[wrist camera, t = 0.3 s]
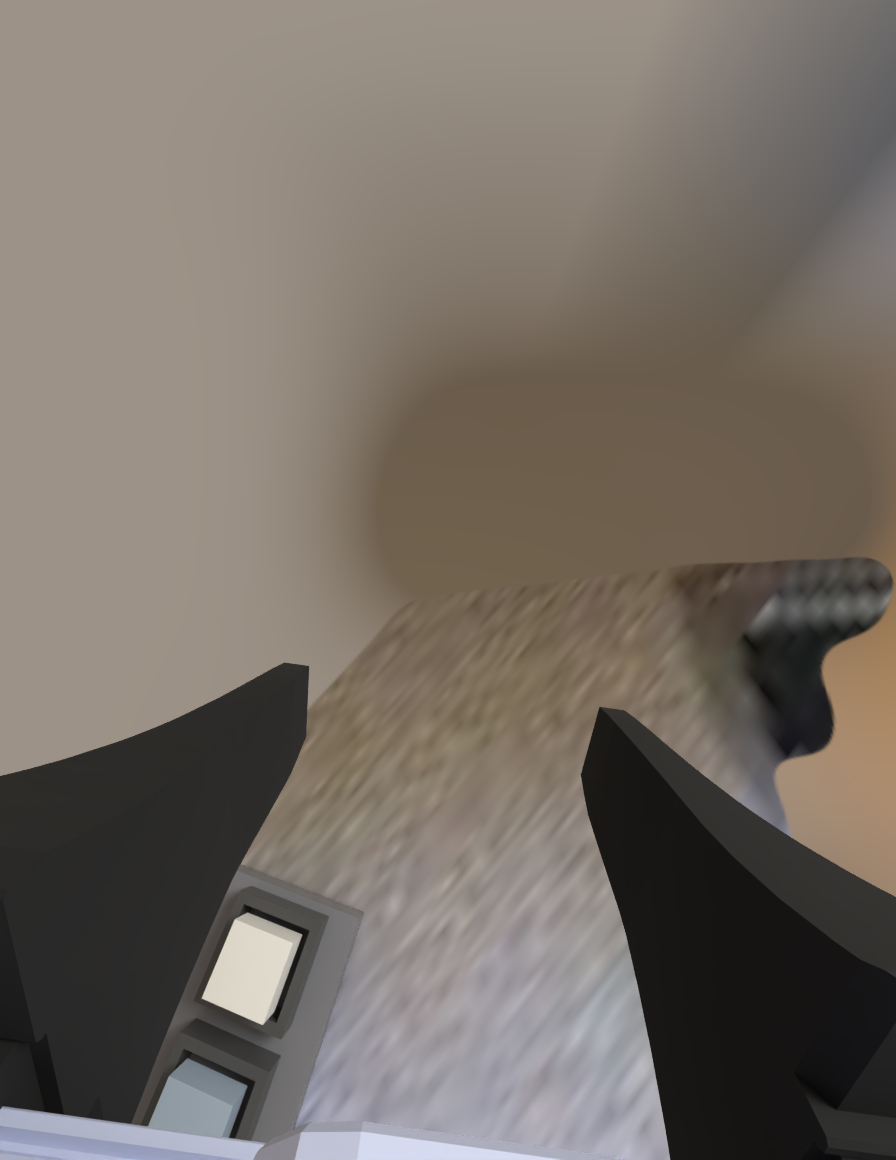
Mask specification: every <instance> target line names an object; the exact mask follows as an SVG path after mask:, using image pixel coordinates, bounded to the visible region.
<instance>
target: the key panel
mask: <svg viewBox="0 0 896 1160" xmlns="http://www.w3.org/2000/svg"><path fill="white" fill-rule="evenodd" d="M247 912H248V913H250V914H253V915H255V916H258V917H260V918H263V919H265V920H267V921H270V922H272V923H275V924H277V925H280V926H282V927H285V928H287V929H290V930H292V931H295V932H297V933H300V934H302V937H301V940H300V943H299V946H298V948H297V951H296V954H295V957H294V959H293V962H292V965H291V968H290V970H289V973H288V976H287V979H286V981H285V984H284V987H283V990H282V992H281V995H280V998H279V1001H278V1003H277V1006H276V1009H275V1011H274V1013H273V1014H272V1015H271V1016H270V1017H269V1018H268V1020H267V1021H266V1022H265V1023H264V1024H263V1025H261V1024H259V1023H256V1022H254V1021H252V1020H250V1019H247V1018H245V1017H243V1016H241V1015H238V1014H236V1013H234V1012H231V1011H229V1010H227V1009H225V1008H222V1007H220V1006H218V1005H215V1004H213V1003H211V1002H209V1001H206V1000H204V999H202V996H203V994H204V991H205V989H206V987H207V984H208V982H209V980H210V977H211V975H212V972H213V970H214V968H215V965H216V963H217V960H218V958H219V956H220V953H221V951H222V949H223V946H224V944H225V941H226V939H227V937H228V934H229V932H230V929H231V927H232V925H233V922H234V920H235V919H236V918H238V917H240V916H242V915H244V914H246V913H247ZM363 913H364V912H362V911H359V910H357V909H354V908H351V907H349V906H346V905H344V904H341V903H339V902H336V901H334V900H331V899H328V898H326V897H323V896H321V895H318V894H316V893H313V892H310V891H308V890H305V889H303V888H300V887H298V886H295V885H292V884H290V883H287V882H285V881H282V880H280V879H277V878H274V877H272V876H269V875H267V874H264V873H262V872H259V871H257V870H254V869H251V868H249V867H246V866H244V865H240V866H239V868H238V870H237V872H236V874H235V876H234V878H233V880H232V882H231V884H230V886H229V888H228V891H227V893H226V895H225V897H224V900H223V902H222V904H221V906H220V909H219V911H218V913H217V915H216V917H215V920H214V922H213V924H212V926H211V929H210V931H209V933H208V936H207V938H206V940H205V943H204V945H203V947H202V950H201V952H200V954H199V957H198V959H197V961H196V964H195V966H194V968H193V971H192V973H191V975H190V978H189V980H188V982H187V985H186V987H185V990H184V992H183V995H182V997H181V1000H180V1002H179V1004H178V1007H177V1009H176V1012H175V1014H174V1017H173V1019H172V1022H171V1024H170V1027H169V1029H168V1031H167V1034H166V1036H165V1039H164V1041H163V1044H162V1046H161V1049H160V1051H159V1054H158V1056H157V1059H156V1061H155V1064H154V1066H153V1069H152V1072H151V1074H150V1077H149V1079H148V1082H147V1084H146V1087H145V1090H144V1092H143V1095H142V1097H141V1100H140V1103H139V1105H138V1108H137V1110H136V1113H135V1115H134V1118H133V1121H132V1123H131V1124H133V1125H140V1126H147V1127H148V1125H149V1123H150V1120H151V1118H152V1116H153V1113H154V1111H155V1108H156V1106H157V1104H158V1101H159V1099H160V1096H161V1094H162V1092H163V1089H164V1087H165V1085H166V1082H167V1080H168V1077H169V1076H170V1075H171V1074H172V1073H173V1072H174V1071H175V1070H176V1069H177V1068H178V1067H179V1066H180V1065H181V1064H182V1063H183V1062H184V1061H185V1060H186V1059H187V1058H188V1059H190V1060H193V1061H195V1062H197V1063H199V1064H201V1065H203V1066H206V1067H208V1068H210V1069H212V1070H214V1071H216V1072H219V1073H221V1074H223V1075H225V1076H227V1077H229V1078H232V1079H234V1080H236V1081H238V1082H240V1083H242V1084H245V1085H247V1089H246V1092H245V1094H244V1097H243V1100H242V1103H241V1106H240V1108H239V1111H238V1114H237V1117H236V1119H235V1122H234V1125H233V1128H232V1130H231V1133H230V1136H229V1138H233V1139H240V1140H247V1141H254V1142H261V1143H268V1142H269V1141H270V1140H271V1139H272V1138H274V1137H277V1136H279V1135H281V1134H284V1133H286V1132H289V1131H291V1130H293V1129H294V1128H295V1125H296V1121H297V1118H298V1115H299V1112H300V1109H301V1106H302V1103H303V1100H304V1097H305V1094H306V1090H307V1087H308V1084H309V1081H310V1078H311V1075H312V1072H313V1069H314V1066H315V1062H316V1059H317V1056H318V1053H319V1050H320V1047H321V1044H322V1041H323V1038H324V1034H325V1031H326V1028H327V1025H328V1022H329V1019H330V1016H331V1013H332V1010H333V1007H334V1003H335V1000H336V997H337V994H338V991H339V988H340V985H341V982H342V979H343V975H344V972H345V969H346V966H347V963H348V960H349V957H350V954H351V951H352V948H353V944H354V941H355V938H356V935H357V932H358V929H359V926H360V923H361V920H362V916H363Z"/></svg>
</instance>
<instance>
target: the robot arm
mask: <svg viewBox="0 0 896 1160" xmlns="http://www.w3.org/2000/svg"><path fill="white" fill-rule="evenodd" d="M308 677H309V666H305V665H297V664H290V663H283V664H281V665H279V666H277V667H275V668H273V669H271V670H269V671H267V672H266V673H264V674H262V675H260V676H258V677H257V678H255V679H253V680H251V681H249V682H247V683H246V684H244V685H242V686H240V687H238V688H236V689H234V690H233V691H231V692H229V693H227V694H225V695H223V696H222V697H220V698H218V699H216V700H214V701H211V702H209V703H207V704H205V705H203V706H201V707H199V708H197V709H195V710H193V711H191V712H189V713H187V714H185V715H183V716H181V717H179V718H176V719H174V720H172V721H170V722H167V723H165V724H163V725H160V726H158V727H156V728H153V729H150V730H148V731H145V732H143V733H140V734H138V735H135V736H133V737H130V738H127V739H124V740H122V741H119V742H116V743H113V744H110V745H107V746H104V747H101V748H98V749H94V750H92V751H89V752H85V753H82V754H79V755H76V756H73V757H70V758H67V759H63V760H60V761H56V762H53V763H49V764H45V765H42V766H39V767H34V768H31V769H27V770H23V771H19V772H15V773H11V774H7V775H3V776H0V1160H624V1159H620V1158H617V1157H613V1156H606V1155H599V1154H592V1153H585V1152H578V1151H571V1150H563V1149H556V1148H549V1147H542V1146H535V1145H528V1144H521V1143H513V1142H506V1141H499V1140H492V1139H485V1138H478V1137H471V1136H464V1135H456V1134H449V1133H442V1132H435V1131H428V1130H421V1129H414V1128H406V1127H399V1126H392V1125H385V1124H378V1123H371V1122H364V1121H356V1122H310V1123H307V1124H305V1125H303V1126H300V1127H298V1128H296V1129H293V1130H291V1131H289V1132H286V1133H284V1134H281V1135H279V1136H277V1137H274V1138H272V1139H271V1140H270V1141H269V1142H268V1143H261V1142H254V1141H247V1140H240V1139H233V1138H226V1137H219V1136H211V1135H204V1134H197V1133H190V1132H183V1131H176V1130H169V1129H161V1128H154V1127H147V1126H140V1125H133V1124H131V1123H132V1121H133V1118H134V1115H135V1113H136V1110H137V1108H138V1105H139V1103H140V1100H141V1097H142V1095H143V1092H144V1090H145V1087H146V1084H147V1082H148V1079H149V1077H150V1074H151V1072H152V1069H153V1066H154V1064H155V1061H156V1059H157V1056H158V1054H159V1051H160V1049H161V1046H162V1044H163V1041H164V1039H165V1036H166V1034H167V1031H168V1029H169V1027H170V1024H171V1022H172V1019H173V1017H174V1014H175V1012H176V1009H177V1007H178V1004H179V1002H180V1000H181V997H182V995H183V992H184V990H185V987H186V985H187V982H188V980H189V978H190V975H191V973H192V971H193V968H194V966H195V964H196V961H197V959H198V957H199V954H200V952H201V950H202V947H203V945H204V943H205V940H206V938H207V936H208V933H209V931H210V929H211V926H212V924H213V922H214V920H215V917H216V915H217V913H218V911H219V909H220V906H221V904H222V902H223V900H224V897H225V895H226V893H227V891H228V888H229V886H230V884H231V882H232V880H233V878H234V876H235V874H236V872H237V870H238V868H239V866H240V864H241V862H242V860H243V858H244V856H245V855H246V853H247V851H248V849H249V848H250V846H251V844H252V842H253V840H254V839H255V837H256V835H257V833H258V832H259V830H260V828H261V826H262V824H263V823H264V821H265V819H266V817H267V816H268V814H269V812H270V810H271V809H272V807H273V805H274V803H275V801H276V800H277V798H278V796H279V794H280V792H281V791H282V789H283V787H284V785H285V783H286V782H287V780H288V778H289V776H290V774H291V772H292V770H293V767H294V765H295V763H296V760H297V758H298V755H299V753H300V750H301V748H302V745H303V743H304V740H305V737H306V725H307V702H308V679H309V678H308ZM581 778H582V784H583V790H584V796H585V801H586V806H587V811H588V816H589V819H590V822H591V825H592V828H593V832H594V835H595V838H596V841H597V844H598V847H599V850H600V853H601V856H602V860H603V863H604V866H605V869H606V872H607V875H608V878H609V881H610V884H611V887H612V890H613V893H614V896H615V899H616V902H617V905H618V908H619V911H620V915H621V918H622V922H623V925H624V929H625V932H626V936H627V940H628V945H629V949H630V954H631V958H632V962H633V967H634V971H635V975H636V980H637V984H638V989H639V994H640V998H641V1003H642V1008H643V1013H644V1018H645V1023H646V1028H647V1032H648V1037H649V1042H650V1047H651V1052H652V1058H653V1063H654V1069H655V1074H656V1079H657V1085H658V1090H659V1096H660V1101H661V1107H662V1112H663V1118H664V1123H665V1129H666V1135H667V1141H668V1147H669V1154H670V1160H896V897H894V896H893V895H891V894H889V893H887V892H885V891H883V890H881V889H879V888H877V887H875V886H874V885H872V884H870V883H868V882H866V881H865V880H863V879H861V878H859V877H857V876H855V875H854V874H852V873H850V872H848V871H846V870H845V869H843V868H841V867H839V866H838V865H836V864H834V863H833V862H831V861H829V860H828V859H826V858H824V857H822V856H821V855H819V854H817V853H816V852H814V851H812V850H811V849H809V848H807V847H805V846H804V845H802V844H800V843H799V842H797V841H796V840H794V839H793V838H791V837H789V836H788V835H786V834H785V833H783V832H782V831H780V830H779V829H777V828H776V827H774V826H773V825H771V824H770V823H768V822H767V821H765V820H764V819H762V818H761V817H759V816H758V815H756V814H755V813H753V812H752V811H750V810H749V809H748V808H746V807H745V806H743V805H742V804H741V803H739V802H738V801H736V800H735V799H734V798H732V797H731V796H730V795H729V794H727V793H726V792H725V791H723V790H722V789H721V788H719V787H718V786H717V785H715V784H714V783H713V782H711V781H710V780H709V779H708V778H706V777H705V776H704V775H703V774H701V773H700V772H699V771H698V770H696V769H695V768H694V767H693V766H691V765H690V764H689V763H688V762H686V761H685V760H684V759H683V758H682V757H681V756H679V755H678V754H677V753H676V752H675V751H673V750H672V749H671V748H670V747H669V746H667V745H666V744H665V743H664V742H663V741H662V740H660V739H659V738H658V737H657V736H656V735H655V734H653V733H652V732H651V731H650V730H649V729H647V728H646V727H645V726H644V725H643V724H641V723H640V722H639V721H638V720H636V719H635V718H634V717H633V716H631V715H630V714H629V713H627V712H626V711H624V710H617V709H610V708H603V707H599V711H598V715H597V718H596V722H595V725H594V729H593V733H592V736H591V740H590V744H589V747H588V751H587V755H586V758H585V762H584V765H583V769H582V773H581Z"/></svg>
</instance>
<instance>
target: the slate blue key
mask: <svg viewBox="0 0 896 1160" xmlns="http://www.w3.org/2000/svg"><path fill="white" fill-rule="evenodd" d="M246 1089H247V1085H245V1084H242V1083H240V1082H238V1081H236V1080H234V1079H232V1078H229V1077H227V1076H225V1075H223V1074H221V1073H219V1072H216V1071H214V1070H212V1069H210V1068H208V1067H206V1066H203V1065H201V1064H199V1063H197V1062H195V1061H193V1060H190V1059H188V1058H187V1059H186V1060H185V1061H184V1062H183V1063H182V1064H181V1065H180V1066H179V1067H178V1068H177V1069H176V1070H175V1071H174V1072H173V1073H172V1074H171V1075H170V1076H169V1077H168V1080H167V1082H166V1085H165V1087H164V1089H163V1092H162V1094H161V1096H160V1099H159V1101H158V1104H157V1106H156V1108H155V1111H154V1113H153V1116H152V1118H151V1120H150V1123H149V1125H148V1127H154V1128H161V1129H169V1130H176V1131H183V1132H190V1133H197V1134H204V1135H211V1136H219V1137H226V1138H229V1136H230V1133H231V1130H232V1128H233V1125H234V1122H235V1119H236V1117H237V1114H238V1111H239V1108H240V1106H241V1103H242V1100H243V1097H244V1094H245V1092H246Z"/></svg>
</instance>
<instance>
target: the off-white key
mask: <svg viewBox="0 0 896 1160" xmlns="http://www.w3.org/2000/svg"><path fill="white" fill-rule="evenodd" d="M301 937H302V934H300V933H297V932H295V931H292V930H290V929H287V928H285V927H282V926H280V925H277V924H275V923H272V922H270V921H267V920H265V919H263V918H260V917H258V916H255V915H253V914H250V913H248V912H247V913H246V914H244V915H242V916H240V917H238V918H236V919H235V920H234V922H233V925H232V927H231V929H230V932H229V934H228V937H227V939H226V941H225V944H224V946H223V949H222V951H221V953H220V956H219V958H218V960H217V963H216V965H215V968H214V970H213V972H212V975H211V977H210V980H209V982H208V984H207V987H206V989H205V991H204V994H203V996H202V999H204V1000H206V1001H209V1002H211V1003H213V1004H215V1005H218V1006H220V1007H222V1008H225V1009H227V1010H229V1011H231V1012H234V1013H236V1014H238V1015H241V1016H243V1017H245V1018H247V1019H250V1020H252V1021H254V1022H256V1023H259V1024H261V1025H263V1024H264V1023H265V1022H266V1021H267V1020H268V1018H269V1017H270V1016H271V1015H272V1014H273V1013H274V1011H275V1009H276V1006H277V1003H278V1001H279V998H280V995H281V992H282V990H283V987H284V984H285V981H286V979H287V976H288V973H289V970H290V968H291V965H292V962H293V959H294V957H295V954H296V951H297V948H298V946H299V943H300V940H301Z"/></svg>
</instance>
